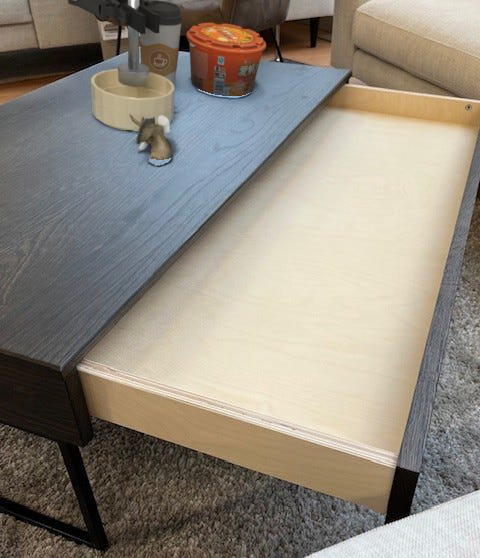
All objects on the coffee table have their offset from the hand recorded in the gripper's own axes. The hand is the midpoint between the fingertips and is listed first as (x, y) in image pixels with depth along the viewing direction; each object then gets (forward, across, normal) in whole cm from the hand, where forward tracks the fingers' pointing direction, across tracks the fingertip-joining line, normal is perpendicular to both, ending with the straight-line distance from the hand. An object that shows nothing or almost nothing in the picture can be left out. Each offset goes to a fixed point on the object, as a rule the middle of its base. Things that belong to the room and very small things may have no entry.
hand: (150, 24), depth 98 cm
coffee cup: (-18, -12, -18) cm, 27 cm away
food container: (-13, -25, -18) cm, 33 cm away
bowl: (-6, 0, -17) cm, 18 cm away
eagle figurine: (+9, +4, -18) cm, 20 cm away
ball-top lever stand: (-6, 0, -11) cm, 12 cm away
